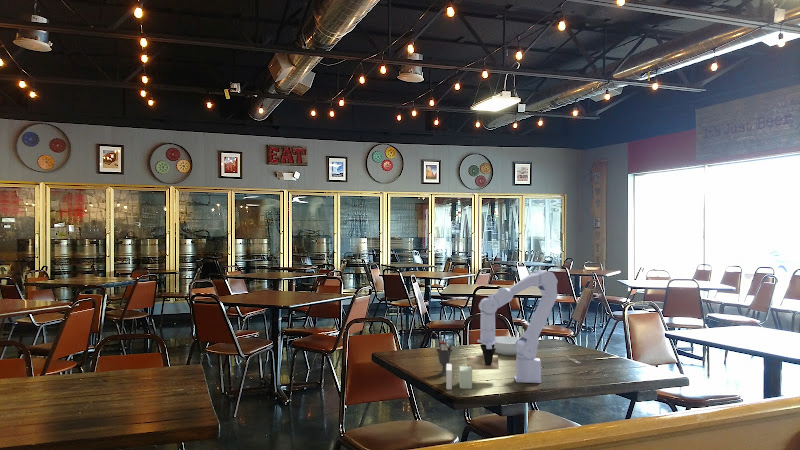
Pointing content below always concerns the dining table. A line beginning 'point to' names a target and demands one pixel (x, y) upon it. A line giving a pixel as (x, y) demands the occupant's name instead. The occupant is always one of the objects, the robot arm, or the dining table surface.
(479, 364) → the peg
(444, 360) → the sundae
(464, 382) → the block
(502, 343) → the serving bowl
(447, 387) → the wall
